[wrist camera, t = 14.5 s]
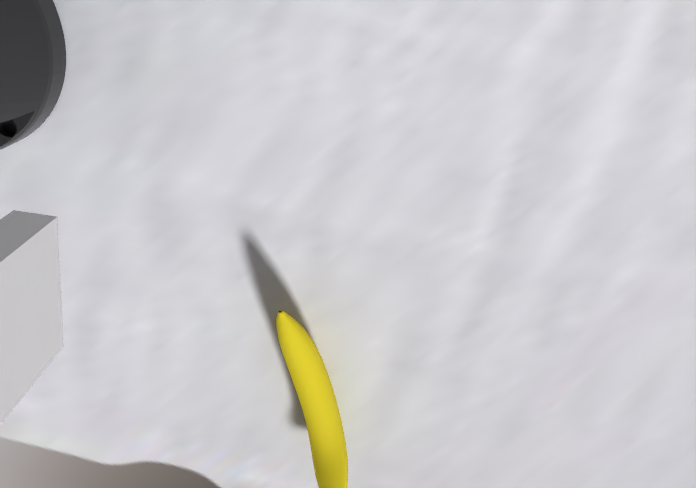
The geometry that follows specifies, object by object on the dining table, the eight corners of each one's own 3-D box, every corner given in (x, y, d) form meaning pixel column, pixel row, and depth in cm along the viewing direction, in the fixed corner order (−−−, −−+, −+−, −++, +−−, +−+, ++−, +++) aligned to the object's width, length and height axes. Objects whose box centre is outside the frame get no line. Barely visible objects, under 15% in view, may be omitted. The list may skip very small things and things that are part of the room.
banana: (307, 275, 47) (298, 318, 41) (357, 465, 54) (356, 524, 49) (270, 281, 47) (256, 325, 41) (325, 469, 55) (320, 529, 49)
